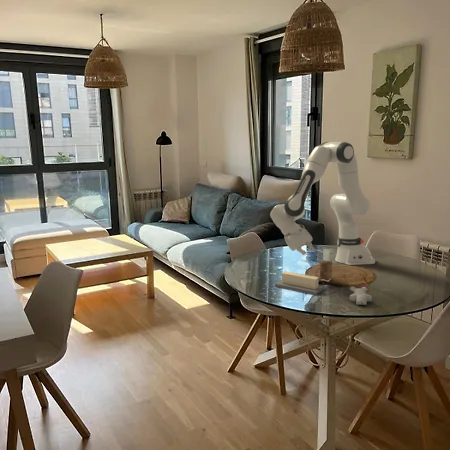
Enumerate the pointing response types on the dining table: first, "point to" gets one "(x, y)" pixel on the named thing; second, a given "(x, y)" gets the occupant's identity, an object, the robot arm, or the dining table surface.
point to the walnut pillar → (326, 270)
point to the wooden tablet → (362, 286)
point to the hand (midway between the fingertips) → (309, 252)
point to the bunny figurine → (360, 295)
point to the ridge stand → (300, 283)
